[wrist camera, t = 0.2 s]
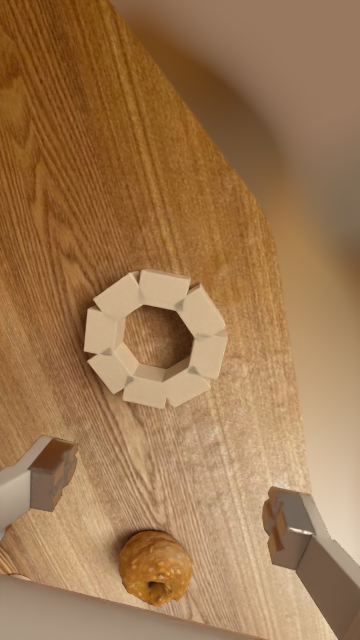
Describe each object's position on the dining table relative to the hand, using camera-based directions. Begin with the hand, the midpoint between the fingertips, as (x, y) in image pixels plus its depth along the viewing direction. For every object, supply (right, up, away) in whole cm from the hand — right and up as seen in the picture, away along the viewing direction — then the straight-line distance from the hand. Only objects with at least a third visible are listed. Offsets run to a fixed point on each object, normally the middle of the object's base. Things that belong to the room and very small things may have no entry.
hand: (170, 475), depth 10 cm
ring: (-2, +5, +16) cm, 17 cm away
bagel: (-3, -26, +25) cm, 36 cm away
